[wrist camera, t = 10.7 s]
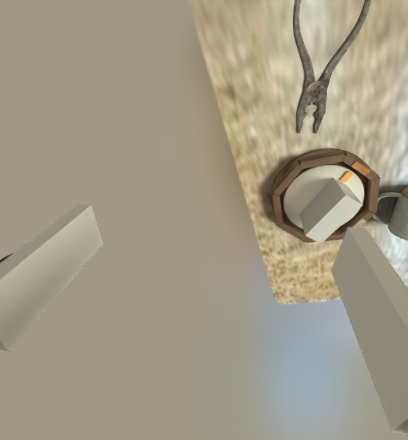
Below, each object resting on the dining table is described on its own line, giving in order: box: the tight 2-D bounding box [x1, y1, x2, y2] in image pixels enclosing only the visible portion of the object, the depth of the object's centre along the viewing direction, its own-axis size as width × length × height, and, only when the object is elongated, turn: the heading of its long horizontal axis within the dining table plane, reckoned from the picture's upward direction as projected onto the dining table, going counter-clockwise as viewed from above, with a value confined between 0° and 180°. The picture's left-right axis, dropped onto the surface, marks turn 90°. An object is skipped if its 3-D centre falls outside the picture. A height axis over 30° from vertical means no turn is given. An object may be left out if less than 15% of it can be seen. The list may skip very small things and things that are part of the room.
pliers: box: [294, 0, 371, 133], centre depth 35 cm, size 10×1×20 cm
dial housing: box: [271, 149, 380, 243], centre depth 44 cm, size 18×18×4 cm
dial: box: [283, 164, 364, 244], centre depth 41 cm, size 14×14×8 cm
